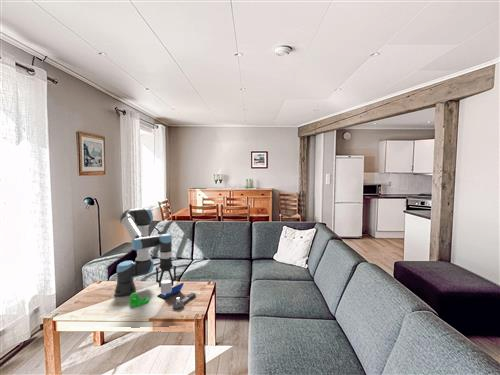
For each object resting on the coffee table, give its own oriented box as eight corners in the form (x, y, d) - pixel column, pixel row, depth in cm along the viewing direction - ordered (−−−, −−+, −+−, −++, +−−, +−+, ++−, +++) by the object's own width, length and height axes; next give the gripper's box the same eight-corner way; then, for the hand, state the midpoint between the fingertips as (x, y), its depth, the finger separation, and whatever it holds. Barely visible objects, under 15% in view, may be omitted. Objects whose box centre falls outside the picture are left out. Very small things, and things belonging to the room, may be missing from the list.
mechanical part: (133, 307, 190) (132, 296, 189) (130, 304, 194) (129, 293, 194) (150, 302, 198) (150, 291, 197) (146, 299, 202) (146, 289, 202)
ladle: (170, 308, 189) (170, 299, 188) (189, 295, 209) (189, 287, 208) (179, 310, 186) (178, 301, 185) (197, 297, 205) (197, 289, 205)
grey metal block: (161, 290, 187) (161, 280, 187) (170, 289, 189) (170, 279, 189) (162, 294, 182) (161, 283, 181) (170, 292, 183) (170, 282, 183)
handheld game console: (172, 289, 219) (172, 278, 219) (184, 294, 212) (184, 282, 211) (156, 297, 206) (156, 285, 206) (168, 301, 199) (168, 289, 198)
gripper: (151, 260, 178) (151, 295, 179) (180, 257, 184) (180, 291, 185) (151, 257, 185) (151, 290, 186) (179, 254, 191) (180, 287, 192)
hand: (166, 291), depth 185 cm, fingers closed on grey metal block, 6 cm apart
